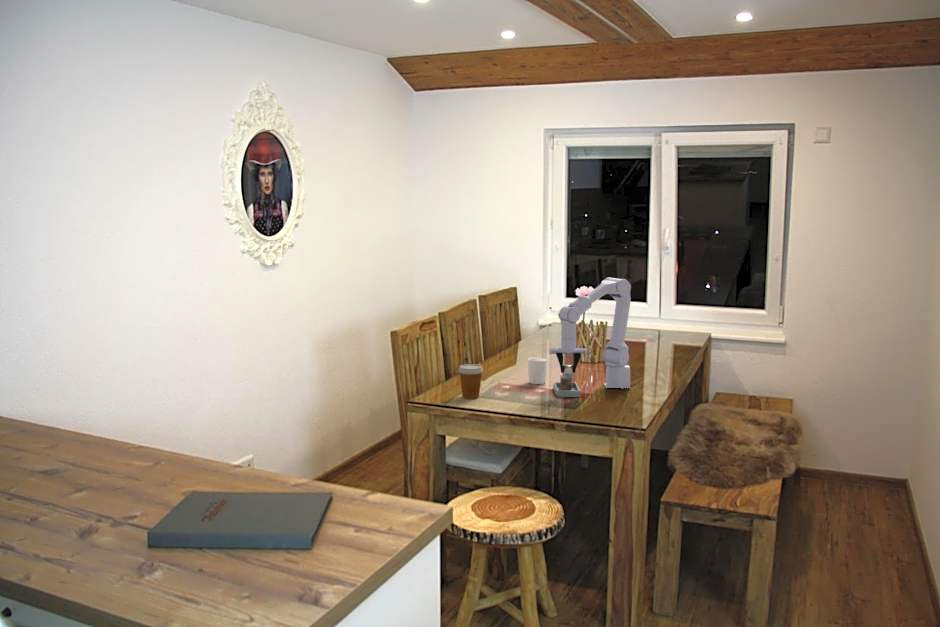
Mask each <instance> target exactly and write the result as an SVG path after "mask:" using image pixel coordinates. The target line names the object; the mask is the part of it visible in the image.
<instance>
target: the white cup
mask: <svg viewBox="0 0 940 627" xmlns="http://www.w3.org/2000/svg"><path fill="white" fill-rule="evenodd" d="M547 365H548V359H547V358H546V357H541V356H533V357H529V358H527V371H528V373H527V374H528V383H529V384H530V383H532V384H531V385H536V384H540V385H545V384H546V379H547V378H546V376H547V369H548V366H547ZM544 383H545V384H544Z"/></svg>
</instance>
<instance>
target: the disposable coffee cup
mask: <svg viewBox="0 0 940 627" xmlns="http://www.w3.org/2000/svg"><path fill="white" fill-rule="evenodd" d="M458 372H459V379H460V380H459V381H460V387H461V395H462V399H465V398H466V399H465V400H475V398H476V399H478V397H479V398H480V392H481V391H480V390H481V384H482V383H481V382H482V375H483V372H484V369H483V365H480V364H476V363H475V364H474V363H467V364H466V363H465V364H461V365H459V368H458Z"/></svg>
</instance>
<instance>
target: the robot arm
mask: <svg viewBox="0 0 940 627" xmlns="http://www.w3.org/2000/svg"><path fill="white" fill-rule="evenodd" d="M631 290H632V284H631V283H630V282H629V281H628V280H627V279H625V278H617V277H611V276H610V277H609V276H608V277H606V278H604V279H603V280H602V281H601V283H600V284H599V285H597V286H596V287H595V288H594V289H593V290H592V291H591V292H589V293H588V295H578V296H577V299H575V300H574V301H572V302H570V303H569V304H568V305H566V306H565V305H564V306H563V307H561V308H560V309H559V313H557V316H558V318H559V320H560V325H561V327H560V328H561V332H560V337H561V339H560V347H555V348H554V347H553V348H552V347H551V348H549V349H548V353H549V354H550V355H556V357H557V360H558V363H559V368H560V373H561V374H563V365H564V355H573V356H572V359H573V361H572V364H573V374H575V373H576V369H577V366H578V364H579V361H580V360H581V357H582V355H588V351H589V350H588V348H583V347H582V348H580V347H577V322H578V321H579V320H580V318H581V316H582V315H583V314H584V313H585V312H587V311H588V310H589V309H591V308H592V305H593V303H594V302H597V301H598V300H599V299H601V298H602V297H604V296H605V295H610V296H611V297H612V298H613V300H614V301H615V307H614V316H613V320H612V321H613V323H612V329H611V337H610V340H609V341H607V343H606V344H605V348H604V349H603V352H602V359H603V361H604V362H605V365H606V369H605V370H606V371H605V373H606V374H605V382H603V385H604V387H605V388H606V389H607V388H621V389H622V390H623V389H624V388H625V389H626V388H627V389H628V388H630V389H631V367H630V365H628V362H629V360H630V354H629V349H630V348H629V346H628V345H627V344H626V342H625V340H626V334H627V328H628V327H627V326H628V320H629V313H630V307H631V301H632V300H631ZM627 389H626V390H627ZM628 390H629V389H628Z"/></svg>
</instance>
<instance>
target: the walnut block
mask: <svg viewBox="0 0 940 627" xmlns="http://www.w3.org/2000/svg"><path fill="white" fill-rule="evenodd" d="M572 380H573V379H571V380H566V379H563V374H562V375H560V381H559V382H560V388H561V390H571V384H572V382H573V381H572Z"/></svg>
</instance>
